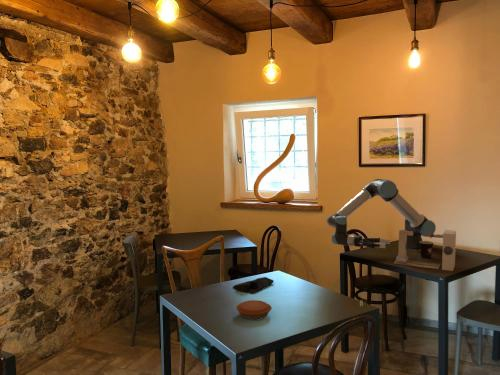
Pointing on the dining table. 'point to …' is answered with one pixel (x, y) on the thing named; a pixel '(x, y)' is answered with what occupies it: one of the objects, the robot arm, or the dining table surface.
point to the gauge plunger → (436, 235)
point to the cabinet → (448, 250)
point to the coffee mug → (425, 249)
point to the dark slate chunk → (253, 285)
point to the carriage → (403, 245)
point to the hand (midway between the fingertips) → (387, 243)
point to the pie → (253, 309)
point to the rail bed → (419, 264)
